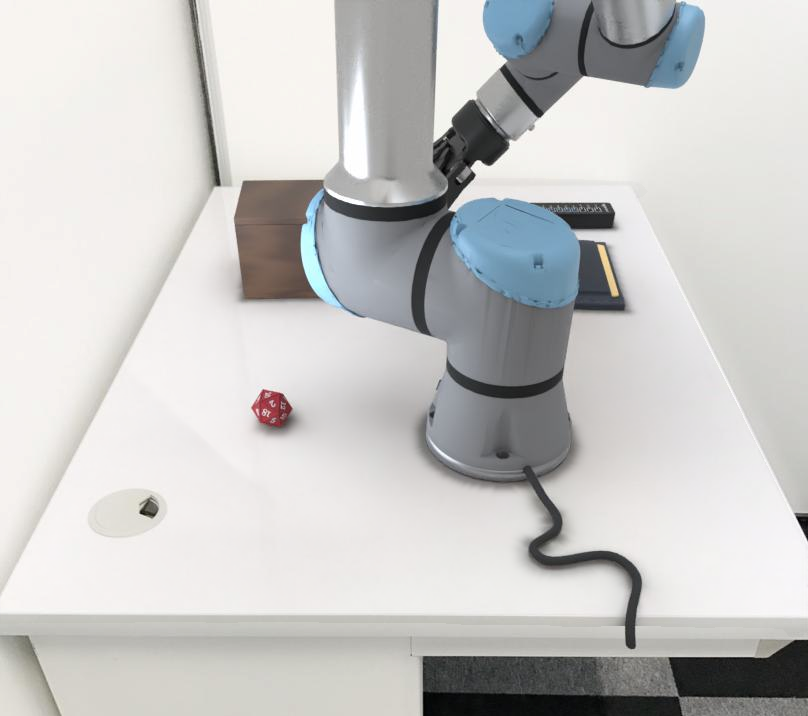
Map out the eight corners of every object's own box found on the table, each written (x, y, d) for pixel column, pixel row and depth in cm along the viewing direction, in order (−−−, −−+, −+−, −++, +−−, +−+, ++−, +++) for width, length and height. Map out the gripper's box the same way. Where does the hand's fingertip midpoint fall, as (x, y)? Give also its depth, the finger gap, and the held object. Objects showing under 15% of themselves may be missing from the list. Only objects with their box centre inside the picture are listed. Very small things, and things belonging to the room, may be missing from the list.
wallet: (506, 230, 125) (611, 234, 124) (505, 243, 126) (609, 247, 125) (509, 293, 110) (627, 298, 109) (507, 307, 111) (625, 312, 111)
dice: (256, 413, 93) (251, 381, 90) (296, 414, 93) (293, 383, 90) (250, 433, 90) (245, 401, 88) (292, 434, 90) (288, 402, 87)
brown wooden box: (355, 255, 123) (352, 179, 115) (355, 297, 113) (353, 216, 106) (252, 257, 122) (242, 180, 115) (244, 298, 113) (233, 218, 105)
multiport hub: (516, 217, 133) (517, 202, 132) (607, 216, 134) (610, 202, 132) (519, 228, 130) (521, 213, 128) (613, 228, 130) (616, 213, 129)
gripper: (527, 179, 98) (397, 301, 108) (499, 112, 116) (390, 222, 126) (484, 131, 94) (353, 262, 104) (463, 69, 112) (353, 186, 122)
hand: (373, 240), depth 115 cm, fingers open, 13 cm apart
